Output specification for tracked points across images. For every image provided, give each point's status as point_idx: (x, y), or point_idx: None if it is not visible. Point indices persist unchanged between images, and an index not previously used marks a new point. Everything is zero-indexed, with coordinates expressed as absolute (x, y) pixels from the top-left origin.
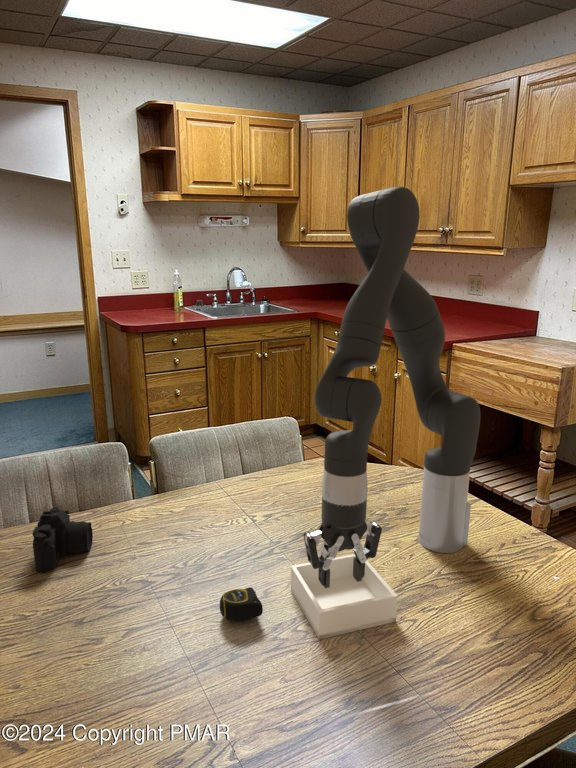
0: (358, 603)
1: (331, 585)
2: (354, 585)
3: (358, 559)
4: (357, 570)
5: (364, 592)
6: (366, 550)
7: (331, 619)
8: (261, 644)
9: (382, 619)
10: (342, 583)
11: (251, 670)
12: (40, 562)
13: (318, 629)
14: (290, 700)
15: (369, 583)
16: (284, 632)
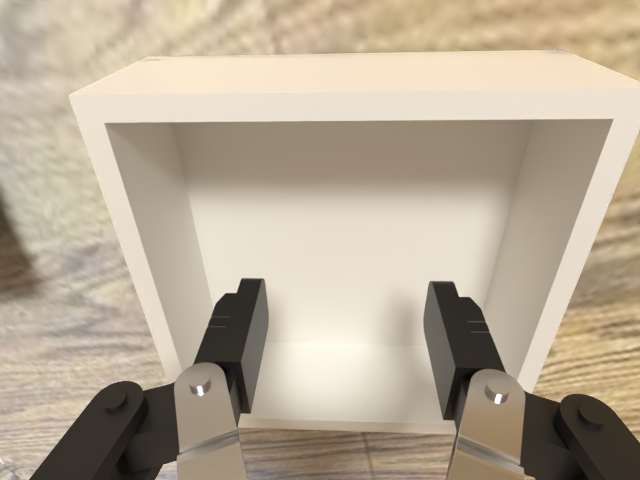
0: (343, 427)
1: (354, 123)
2: (464, 159)
3: (458, 422)
4: (435, 363)
5: (474, 218)
6: (546, 466)
7: None
8: (34, 308)
9: None
10: (416, 125)
11: (19, 369)
12: None
13: None
14: None
15: (522, 219)
16: (107, 287)
